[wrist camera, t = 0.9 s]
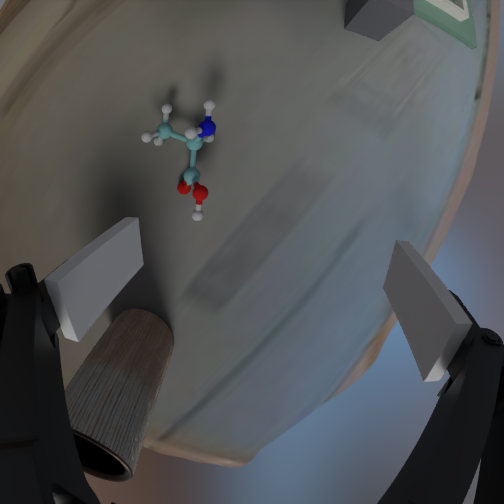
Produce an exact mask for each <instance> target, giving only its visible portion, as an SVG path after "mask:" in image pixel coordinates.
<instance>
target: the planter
mask: <svg viewBox="0 0 504 504" xmlns="http://www.w3.org/2000/svg"><path fill="white" fill-rule="evenodd" d="M173 347H174V339H173V335H172V332H171V330H170V329H169V327H168V326H167V324H166V323H165V322H164V321H163V320H162V319H161V318H159V317H158V316H157V315H155V314H153V313H151V312H149V311H146V310H143V309H128V310H125V311H123V312H121V313H120V314H119V315H118V316H117V317H116V318H115V319H114V320H113V322H112V323H111V324H110V326H109V327H108V328H107V330H106V331H105V332H104V334H103V335H102V337H101V338H100V339H99V341H98V342H97V344H96V345H95V346H94V348H93V349H92V351H91V352H90V353H89V355H88V356H87V358H86V359H85V361H84V362H83V364H82V365H81V366H80V368H79V369H78V371H77V372H76V374H75V375H74V377H73V378H72V380H71V381H70V383H69V384H68V386H67V387H66V389H65V390H64V392H65V398H66V403H67V409H68V414H69V419H70V423H71V428H72V432H73V436H74V440H75V444H76V448H77V452H78V455H79V459H80V462H81V465H82V468H83V471H84V472H85V473H88V474H90V475H92V476H95V477H98V478H101V479H104V480H108V481H114V482H123V481H128V480H130V479H131V478H132V477H133V474H134V471H135V467H136V464H137V460H138V457H139V454H140V451H141V447H142V444H143V441H144V437H145V434H146V431H147V428H148V424H149V421H150V418H151V415H152V412H153V409H154V405H155V402H156V399H157V396H158V393H159V390H160V387H161V384H162V381H163V378H164V375H165V372H166V369H167V366H168V363H169V360H170V358H171V355H172V351H173Z"/></svg>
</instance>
